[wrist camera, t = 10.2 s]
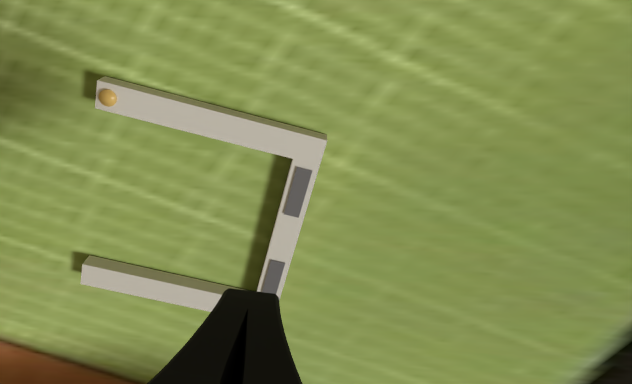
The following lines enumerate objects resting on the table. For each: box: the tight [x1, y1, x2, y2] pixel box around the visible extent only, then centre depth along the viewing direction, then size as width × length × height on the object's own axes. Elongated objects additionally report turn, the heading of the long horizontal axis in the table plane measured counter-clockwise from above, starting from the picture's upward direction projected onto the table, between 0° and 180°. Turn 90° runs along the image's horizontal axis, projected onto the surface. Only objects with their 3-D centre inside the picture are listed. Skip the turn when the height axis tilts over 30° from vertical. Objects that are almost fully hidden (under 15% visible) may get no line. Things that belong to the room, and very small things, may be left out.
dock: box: [81, 76, 327, 312], centre depth 22 cm, size 10×10×1 cm
